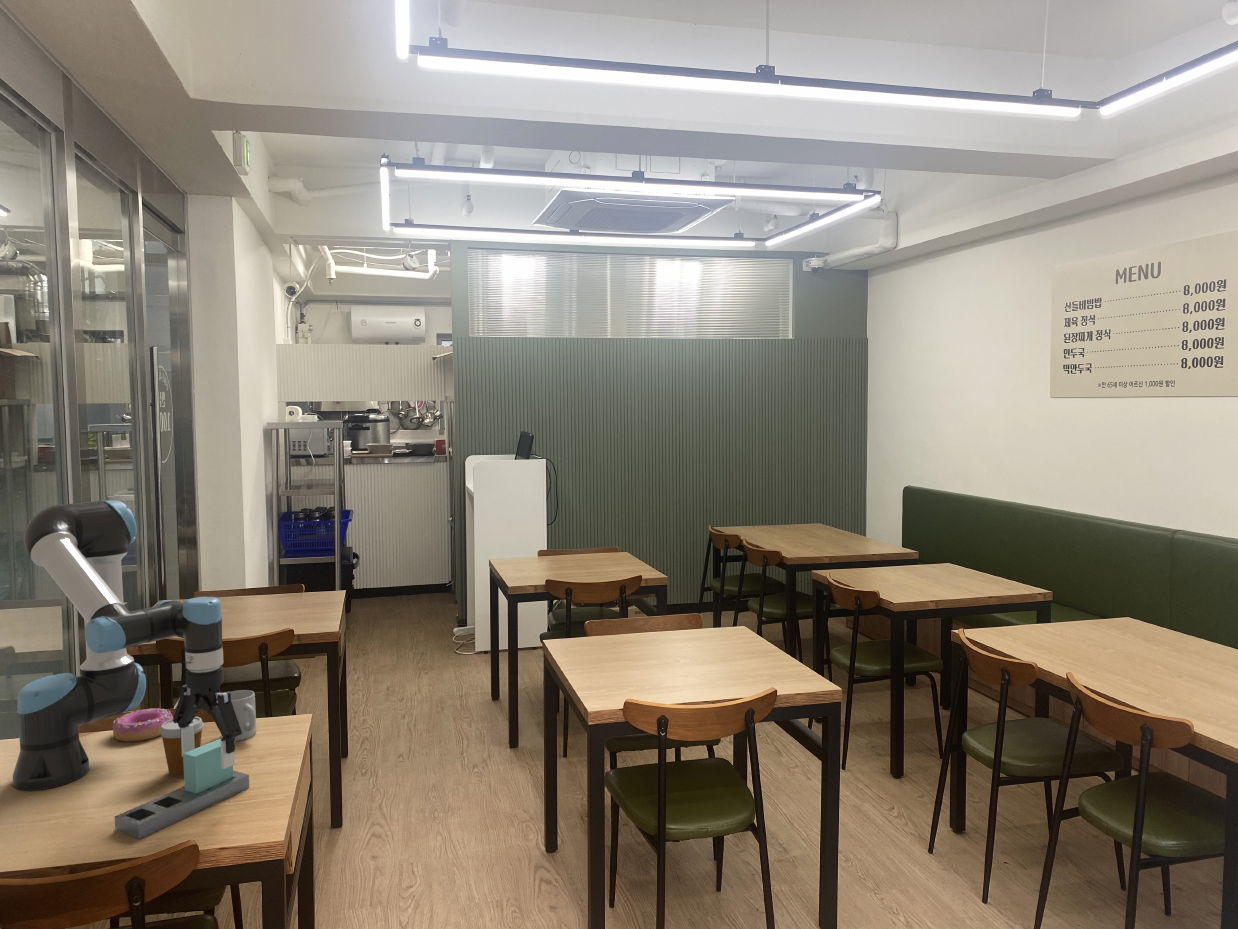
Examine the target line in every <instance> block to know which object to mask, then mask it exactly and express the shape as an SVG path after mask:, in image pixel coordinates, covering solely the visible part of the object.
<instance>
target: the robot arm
mask: <svg viewBox="0 0 1238 929" xmlns="http://www.w3.org/2000/svg"><path fill="white" fill-rule="evenodd" d="M137 534H138V527H137V522H136V518H135V516H134V514H133V512H132V510H131V509H130V508H129V506H128V505H127V504H125V503H124V502H122V501H120V500H116V499H115V500H111V499H110V500H103V499H102V500H95V501H93V500H92V501H86V502H85V501H84V502H77V503H68V504H66V503H65V504H62V503H61V504H55V505H51V506H48V507H45V508H43V509H41V510H40V511H38V512H37V513H36V514H35V515H34V516H33V517H32V518H31V519H30V521H29V522H28V523H27V526H26V528H25V530H24V533H23V547H24V549H25V551H26V552H25V553H26V554H27V556H28V557H29V558H30V560H31V561H32V562H33V563H34V565H36V566H38V567H40V568H44V570H45V571H46V572H47V574H49V575H50V577H51V578H52V579H53V581H54V582H55V583H56V585H57V586H58V587H59V588H60V590H61V591H62V592H63V594H64V595H65V597H66V598H68V600H69V601H70V602H71V604H72V605H73V606H74V607H75V609H76V610H77V612H78V613H79V614H80V615H81V617H82V618H83V620H84V621H83V622H84V639H85V652H86V654H85V655H86V658H85V660H84V661H83V662H82V663H81V665H80V666H79V674H80V675H78V676H76V675H75V674H73V673H71V672H63V673H57V674H51V675H47V676H43V677H40V678H38V679H35V680H33V681H31V682H29V683H27V684H26V685H24V686H23V687H22V688H21V689H20V690H19V691H18V694H17V707H16V712H17V719H18V720H17V721H18V733H19V736H18V737H19V753H18V757H17V761H16V764H15V767H14V770H13V773H12V786H13V788H14V789H17V790H21V791H38V790H45V789H46V790H47V789H52V788H56V787H60V786H62V785H66V784H68V783H71V782H74V781H76V780H79V779H81V778H82V777H83V776H85V775H86V774H88V772H89V771H90V760H89V756H88V755H87V752H86V749H85V748H84V747H83V745H82V742H81V740H80V731H79V730H80V726H84V725H86V724H90V723H93V722H96V721H100V720H103V719H106V718H110V717H113V716H119V715H123V714H124V713H125V712H128V711H132V710H134V709H135V708H137V707H138V706H139V705H140V703H141V702H142V701H143V699H144V697H145V693H146V688H147V679H146V674H145V673H144V669H143V667H142V666H141V664H139V663H137V662H135V659H134V657H133V656H132V655H130V654H128V653H127V649H128V648H132V647H134V646H135V647H136V646H139V645H143V644H146V643H147V644H149V643H152V642H157V641H160V640H165V639H169V638H175V637H177V638H181V639H184V653H185V654H184V657H185V669H187V670H186V672H185V684H184V685H181V686H180V694H179V695H180V696H179V699H178V703H177V704H176V708H175V711H174V715H173V722H174V723H178V726H179V727H180V733H181V734H180V735H181V746H182V757H183V753H185V752H188V751H191V750H193V749H195V741H194V725H189V724H191V723H194V722H193V719H194V717H195V716H196V717H197V714H198V712H199V711H200V710H203V711H206V714H208V715H210V716H211V717H212V719H213V721H214V723H215V725H216V727H217V729H218V731H219V733H220V734H221V738H220V739H221V766H222V769H225V768H228V767H230V766H232V765H233V766H234V765H235V763H236V762H235V751H236V741H235V737H237V736H239V735H241V734H242V731H241V728H240V725H239V722H238V719H237V716H236V714H235V711H234V708H233V705H232V702H231V694H230V692H231V691H226V692H225V691H224V692H221V689H220V687H221V685H222V684H223V683H224V680H225V678H224V677H225V676H224V667H223V666H222V665H223V664H224V649H223V612H222V607H221V601H220V599H219V598H218V597H215V596H198V597H193V598H189V599H186V600H185V601H184V602H183V601H180V600H176V599H175V600H162V601H160V602H158V603H157V604H155V605H154V606H152V607H146V608H140V609H137V610H132V611H131V610H129V609H128V608H127V607H126V606H125V602H124V588H123V571H122V559H123V558H124V557H125V556H126V555H127V554H128V546H129V545H131V544H133V543H134V542H135V540H136V539H137V538H136V537H137ZM235 730H236V731H235ZM222 736H223V738H222Z"/></svg>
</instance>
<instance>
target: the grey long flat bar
mask: <svg viewBox="0 0 1238 929" xmlns="http://www.w3.org/2000/svg"><path fill="white" fill-rule="evenodd" d="M246 789H250V775H249V774H247V773H244V772H240V771H237V770H234V769H233V778H231V780H229V781H227V782H224V783H219V784H217V785H215V786H213V787H211V788H208V789H207V791H204V792H202V793H200V794H194V793H191V792H188V791H186V790H185V785H184V786H181V787H178V788H177V789H175V790H173V791H170V792H167V793H166V794H164V795H161V796H159V797H156V798H155V799H154V798H153V799H152V800H149V801H147V802H144V803H142V804H139V805H138V806H136V807H133V808H131V809H129V810H126V811H124V812H122V813H119V814H117V815H115V816H114V828H115V829H114V830H115V832H119V833H121V834H123V835H127V836H130V837H132V838H135V839H137V840H140V839H141V840H142V839H143V838H145V837H147V836H149V835H150V834H154V833H155V832H157V831H159V830H162V829H163V828H166V827H168V826H170V825H172V824H175V823H177V822H179V821H181V820H184V819H185V818H187V817H189V816H192V815H194V814H196V813H198V812H201V811H202V810H205V809H206V808H210V807H211V806H213V805H216V804H217V803H220V802H221V801H224V800H227V799H228V798H230V797H232V796H234V795H236V794H238V793H241V792H243V791H245V790H246Z"/></svg>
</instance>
